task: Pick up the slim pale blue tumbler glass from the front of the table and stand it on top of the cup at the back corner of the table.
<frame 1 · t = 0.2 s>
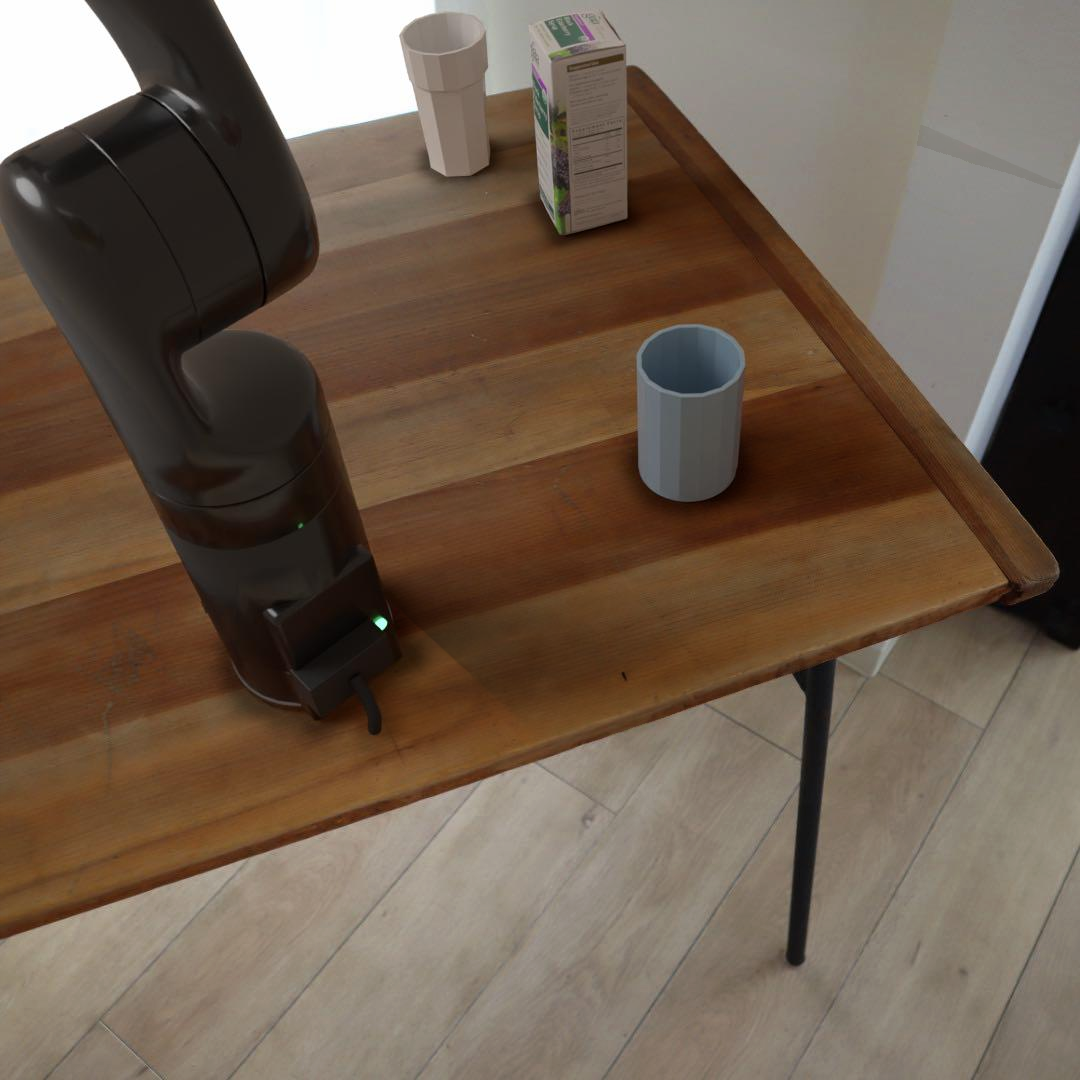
cup: (461, 161, 99), on the table
syrup box: (584, 210, 93), on the table
glass: (687, 465, 75), on the table
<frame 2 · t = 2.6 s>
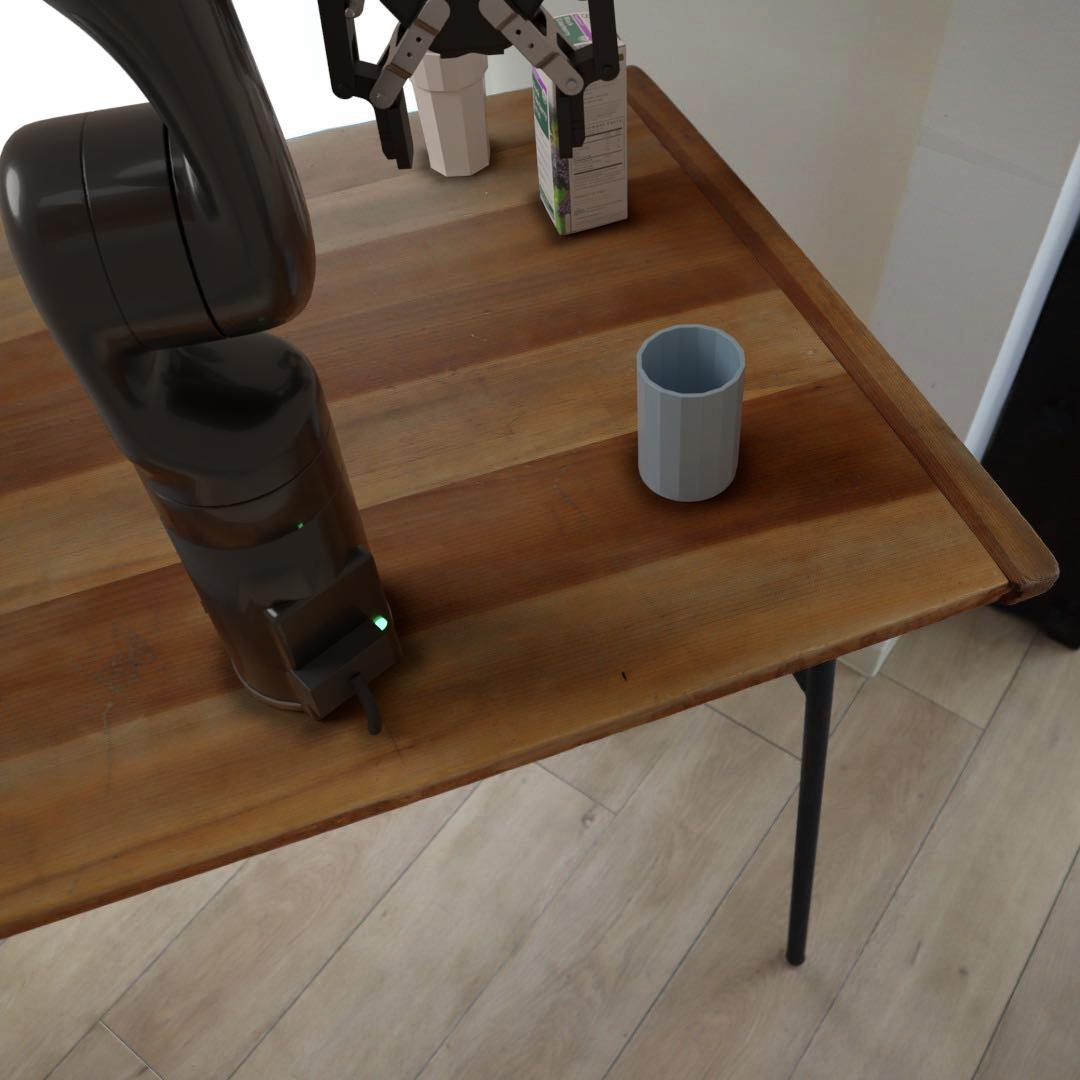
hand: (486, 155, 62), 20 cm above the table, tool pointing down, fingers open, 8 cm apart
nothing on the table moved.
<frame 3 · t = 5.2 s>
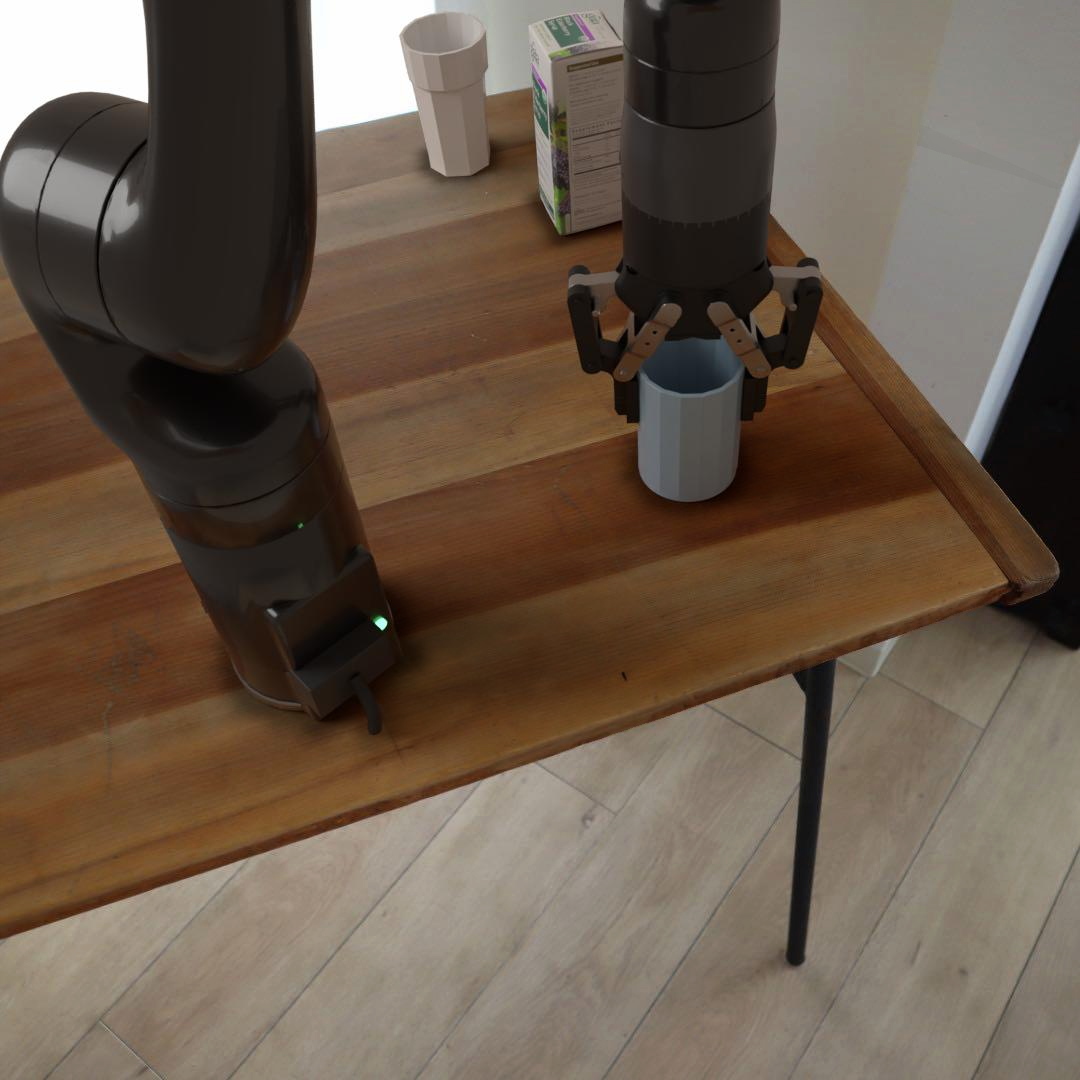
hand: (689, 411, 71), 5 cm above the table, tool pointing down, fingers closed on glass, 6 cm apart
glass: (687, 465, 75), on the table, touching gripper
everything else where it was.
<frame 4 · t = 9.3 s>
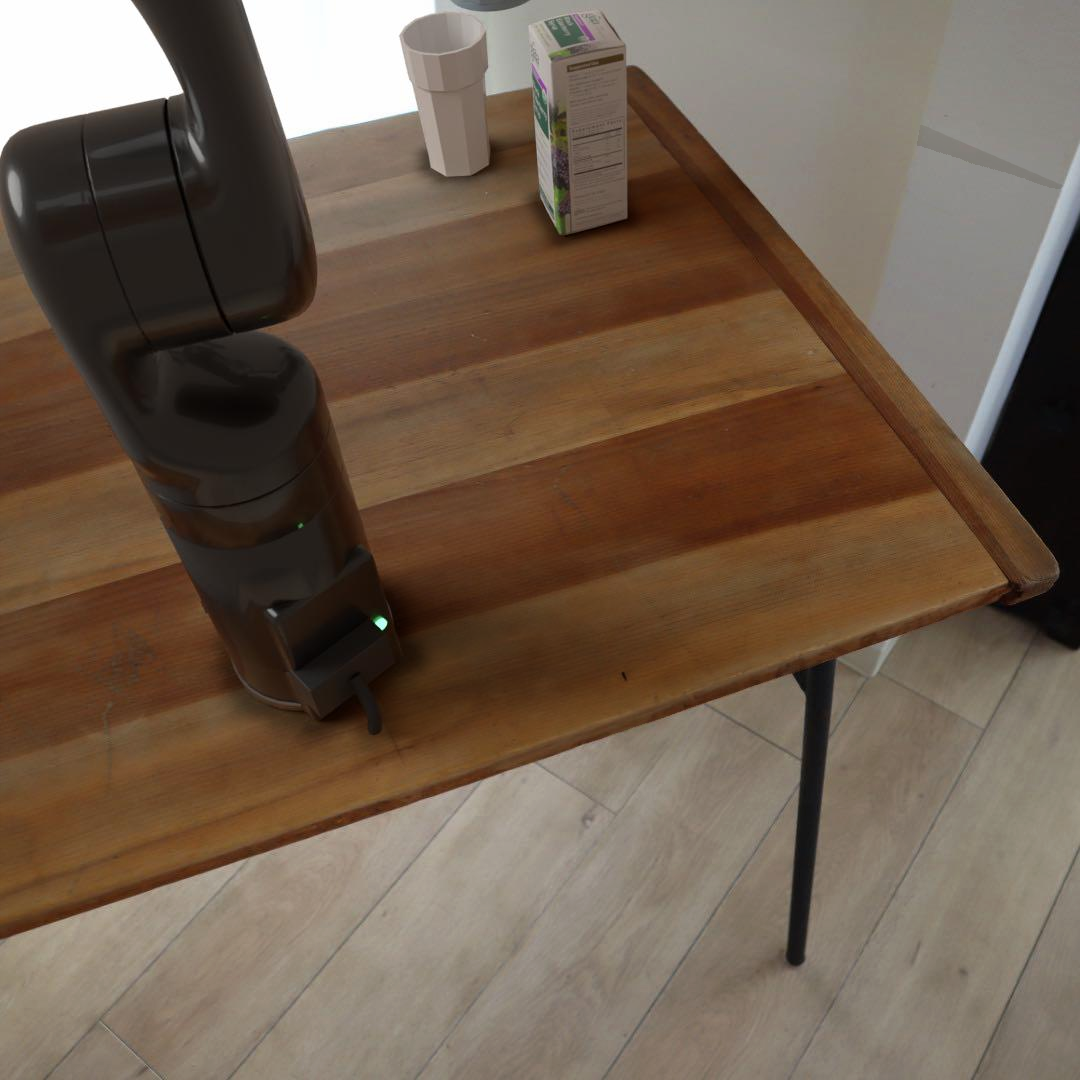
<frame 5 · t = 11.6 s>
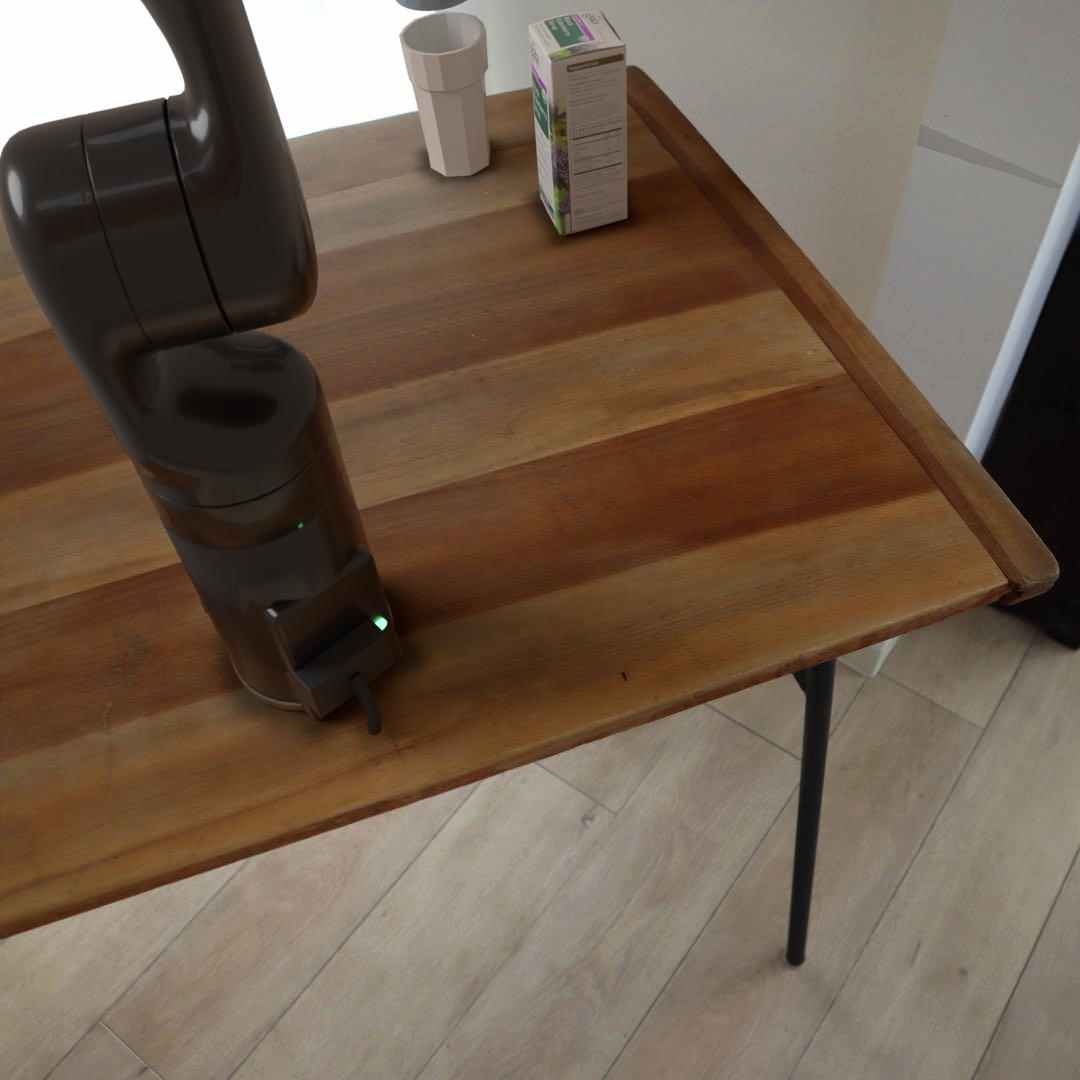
when the fingers open (16 cm above the table, at t = 13.2 s): glass stays where it is, resting on cup.
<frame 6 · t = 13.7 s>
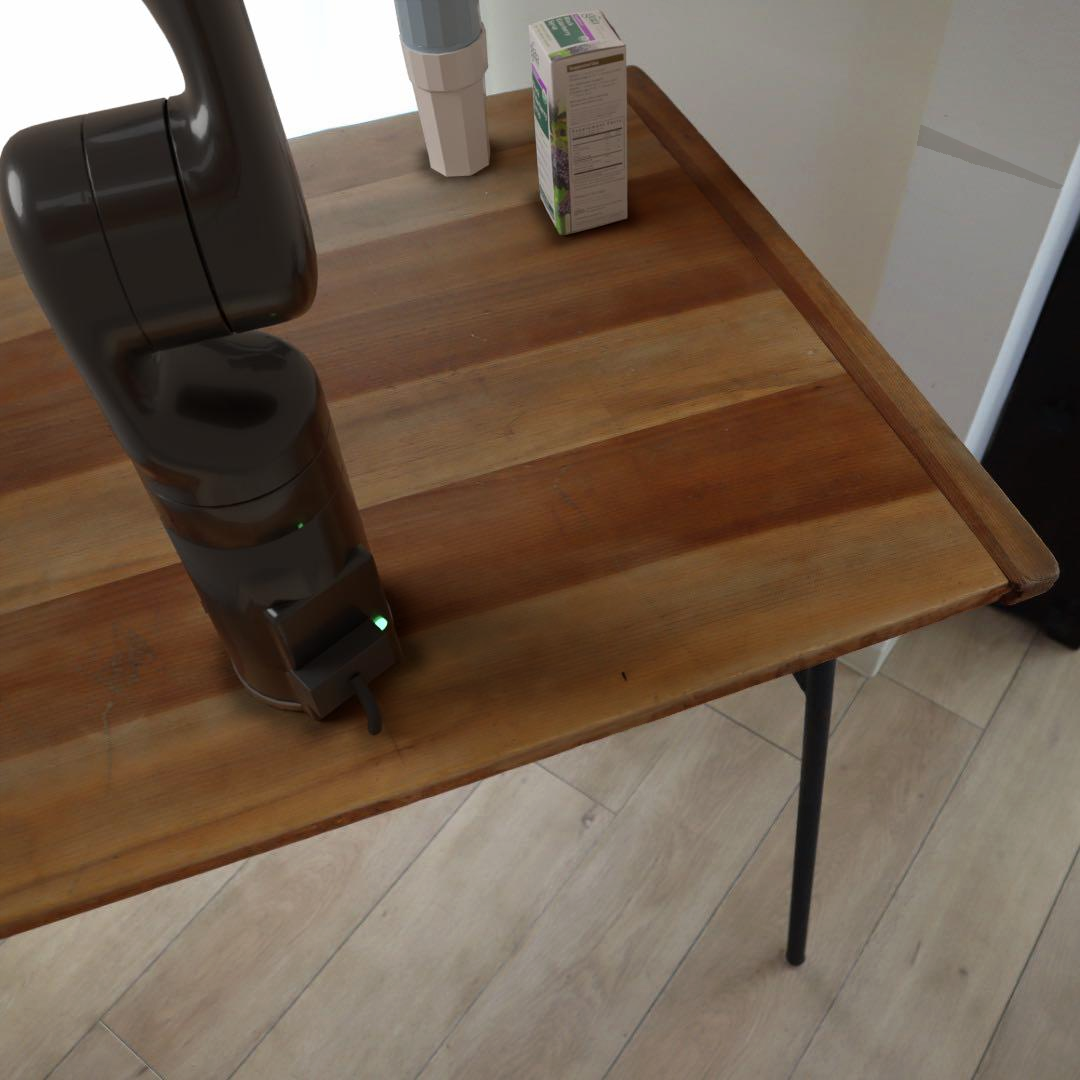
cup: (461, 161, 99), on the table, touching glass
glass: (441, 32, 90), point 11 cm above the table, touching cup
everything else where it was.
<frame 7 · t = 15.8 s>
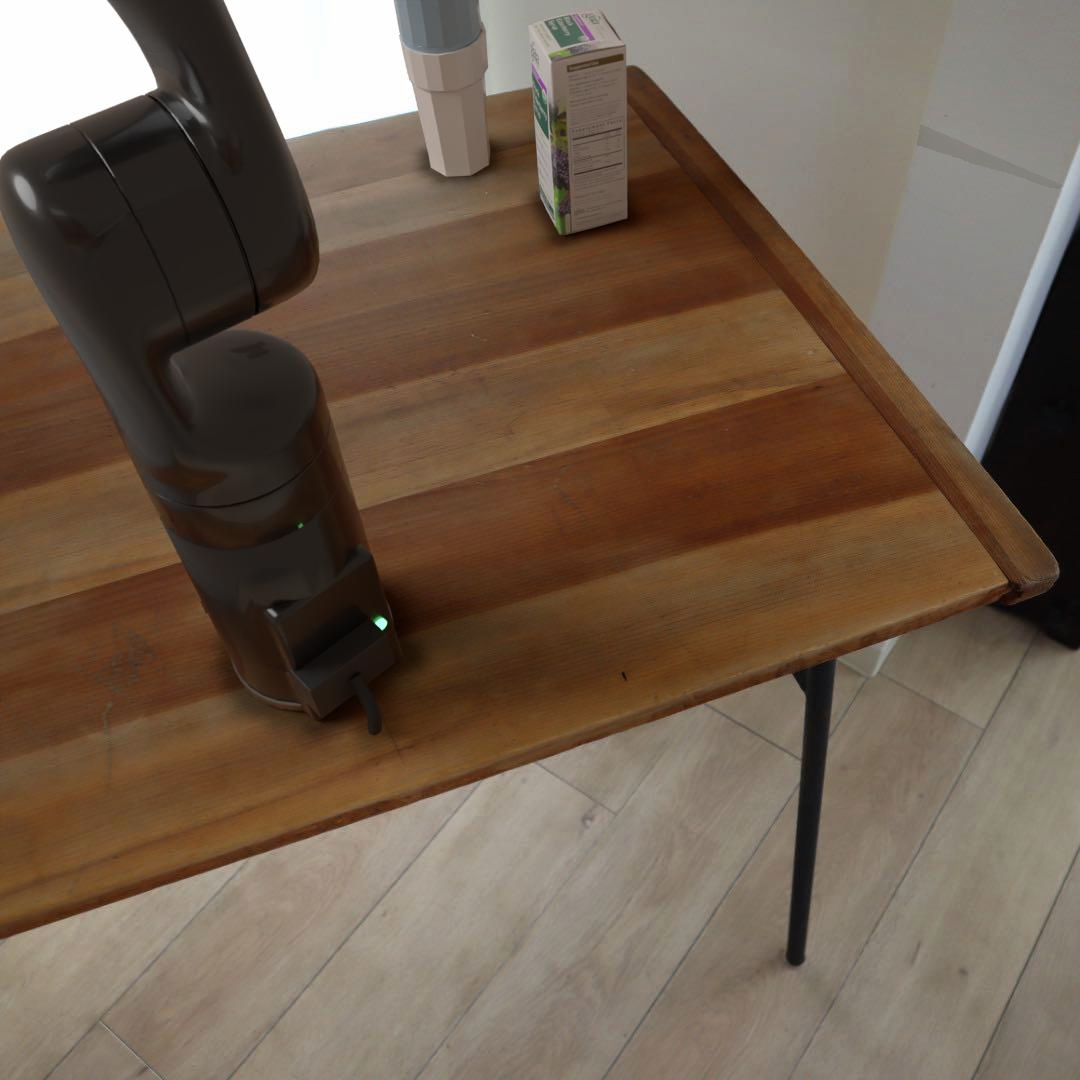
nothing on the table moved.
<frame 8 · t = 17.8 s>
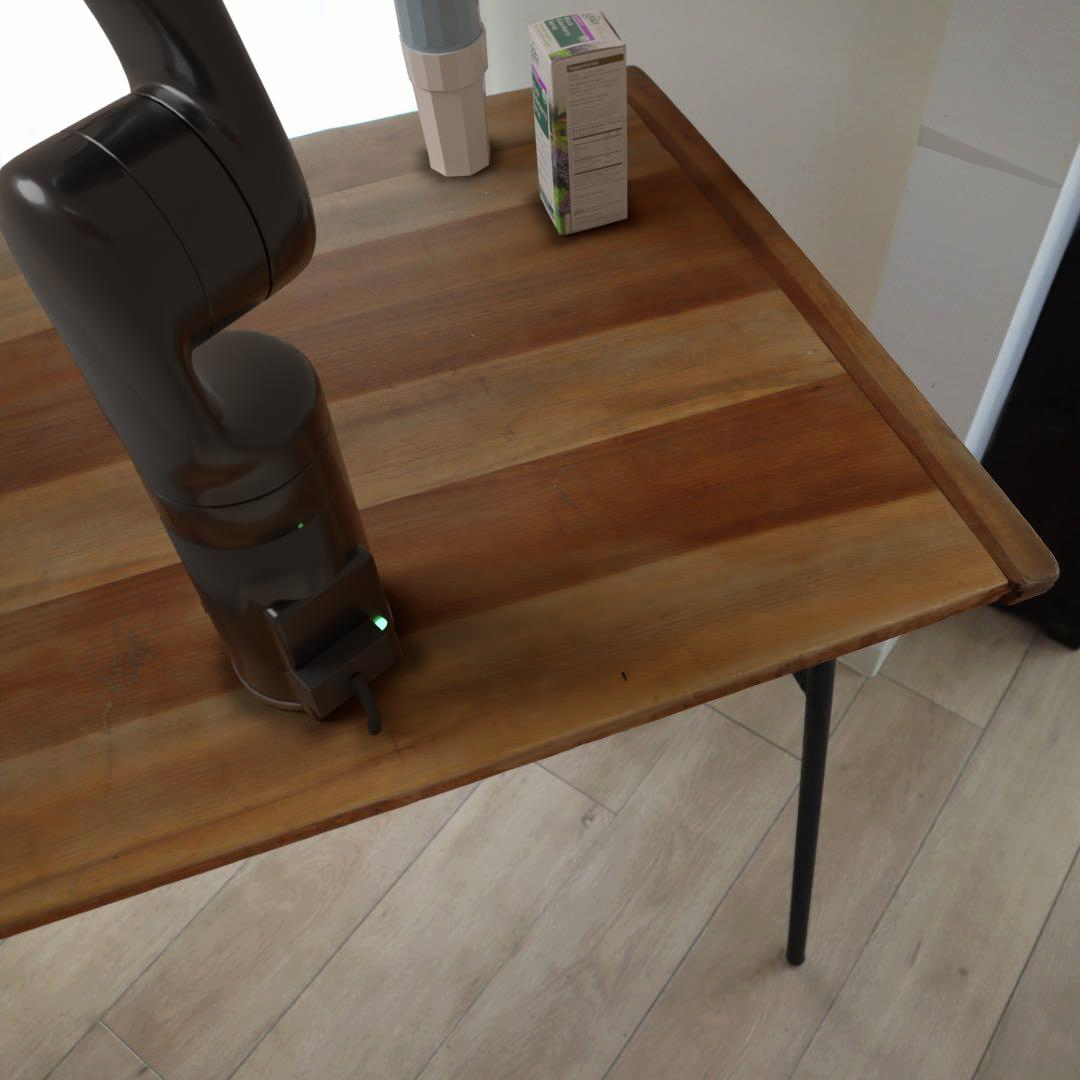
nothing on the table moved.
at the end: glass 0.1 cm from the cup (horizontally); glass point 11.0 cm above the table; glass tilted 0° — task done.
